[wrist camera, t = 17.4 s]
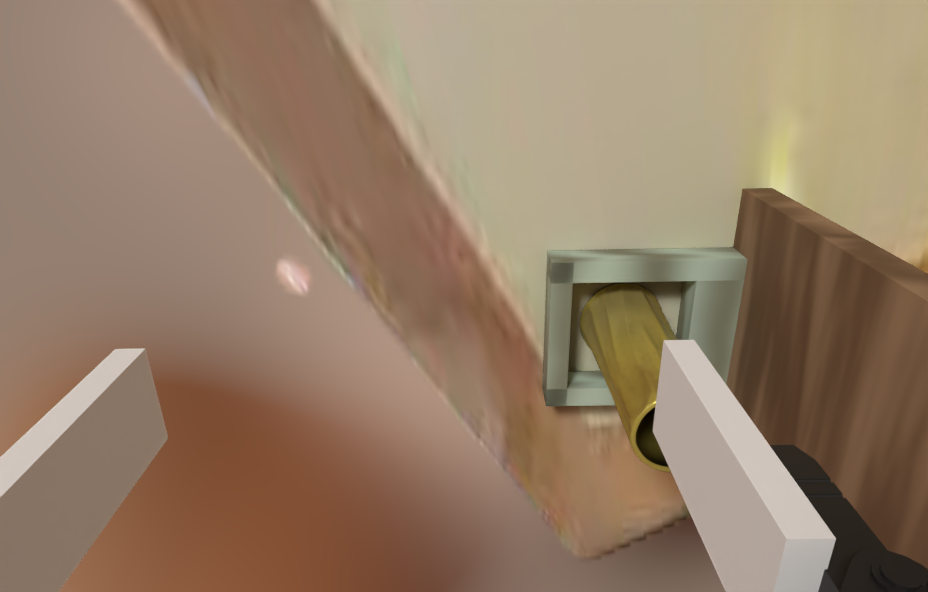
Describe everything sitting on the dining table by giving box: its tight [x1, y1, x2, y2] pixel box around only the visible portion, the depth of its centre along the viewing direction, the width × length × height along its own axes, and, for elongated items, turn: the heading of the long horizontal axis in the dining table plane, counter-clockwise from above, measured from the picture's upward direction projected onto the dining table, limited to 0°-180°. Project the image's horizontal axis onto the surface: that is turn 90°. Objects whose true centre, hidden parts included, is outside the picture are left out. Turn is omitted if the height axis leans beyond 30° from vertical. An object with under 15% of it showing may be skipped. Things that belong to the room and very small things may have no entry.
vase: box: [580, 283, 678, 472], centre depth 41 cm, size 6×6×14 cm
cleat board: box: [542, 188, 928, 569], centre depth 36 cm, size 15×20×24 cm
